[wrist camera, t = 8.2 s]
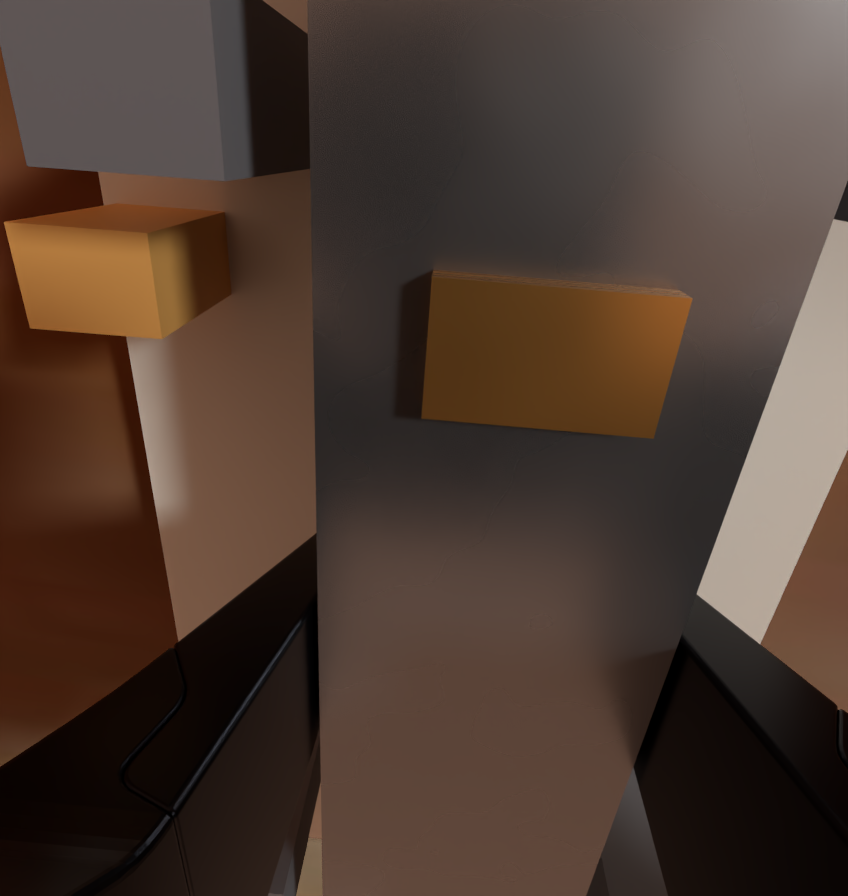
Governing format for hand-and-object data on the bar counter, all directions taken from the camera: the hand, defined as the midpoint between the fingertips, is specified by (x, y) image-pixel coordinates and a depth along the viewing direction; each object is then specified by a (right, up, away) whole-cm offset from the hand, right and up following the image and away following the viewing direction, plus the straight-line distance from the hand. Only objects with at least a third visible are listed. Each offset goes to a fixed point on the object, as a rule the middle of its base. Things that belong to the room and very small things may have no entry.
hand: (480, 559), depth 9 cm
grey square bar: (0, +1, +1) cm, 2 cm away
